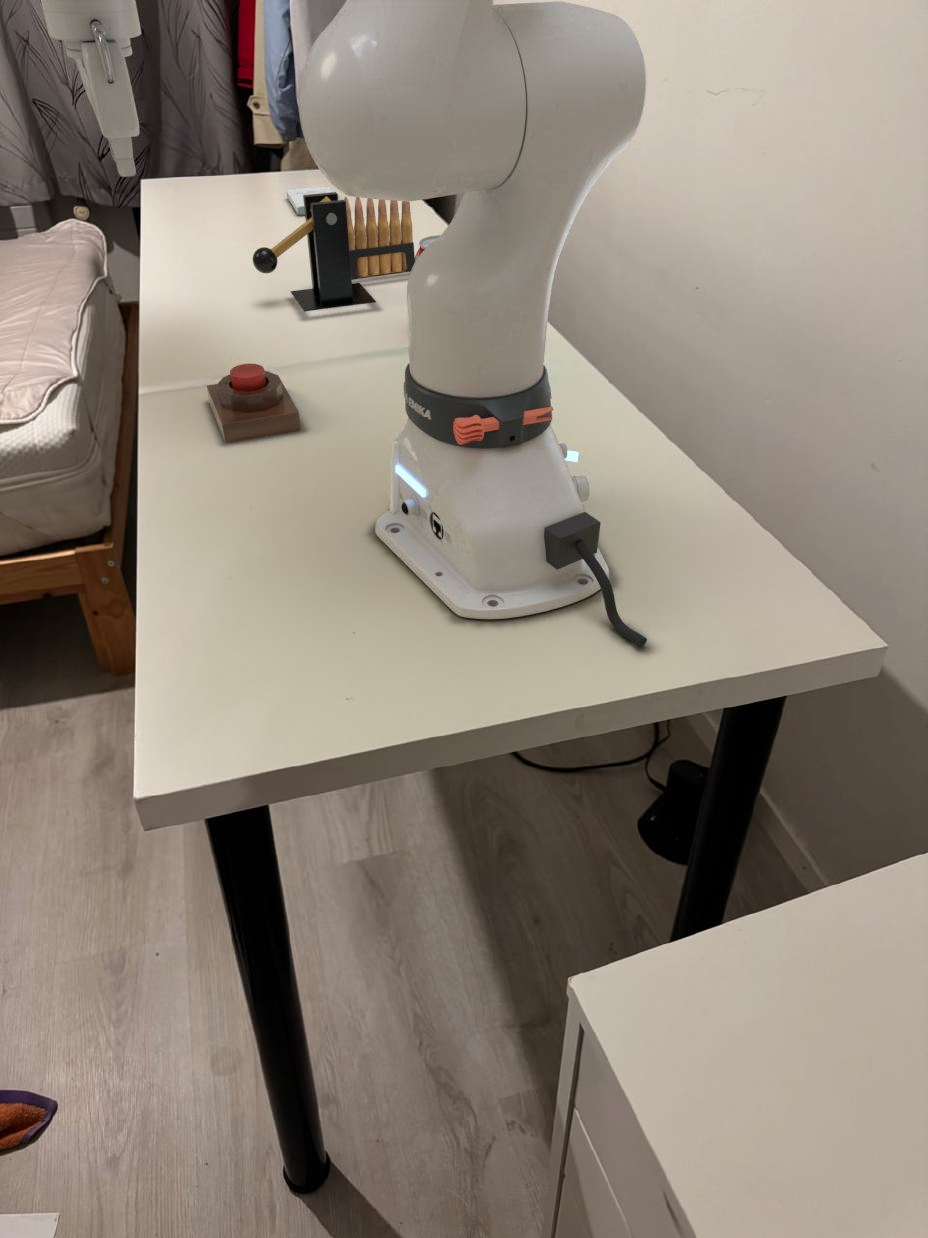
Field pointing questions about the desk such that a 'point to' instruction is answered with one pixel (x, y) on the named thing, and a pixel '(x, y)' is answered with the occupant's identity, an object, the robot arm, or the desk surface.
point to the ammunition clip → (380, 240)
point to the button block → (253, 409)
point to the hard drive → (297, 196)
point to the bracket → (329, 257)
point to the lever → (280, 247)
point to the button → (248, 377)
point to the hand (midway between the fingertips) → (124, 167)
